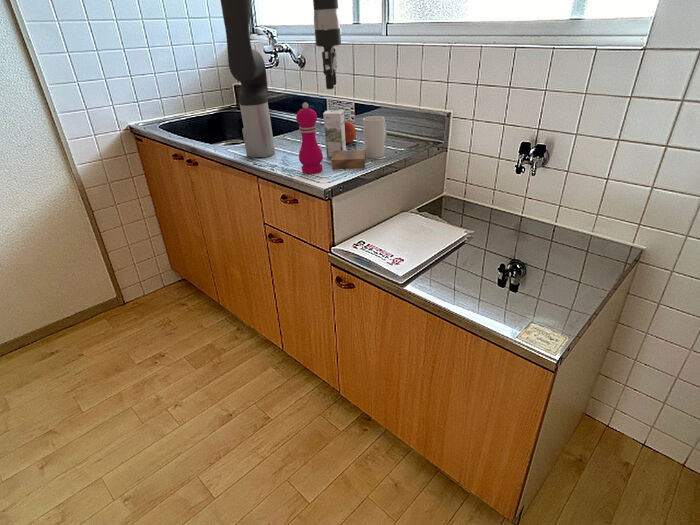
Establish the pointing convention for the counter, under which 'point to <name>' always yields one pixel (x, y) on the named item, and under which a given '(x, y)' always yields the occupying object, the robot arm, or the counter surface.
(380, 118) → the mug
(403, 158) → the counter surface
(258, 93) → the robot arm
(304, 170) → the pepper mill
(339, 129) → the syrup box
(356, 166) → the walnut base
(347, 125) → the fruit
